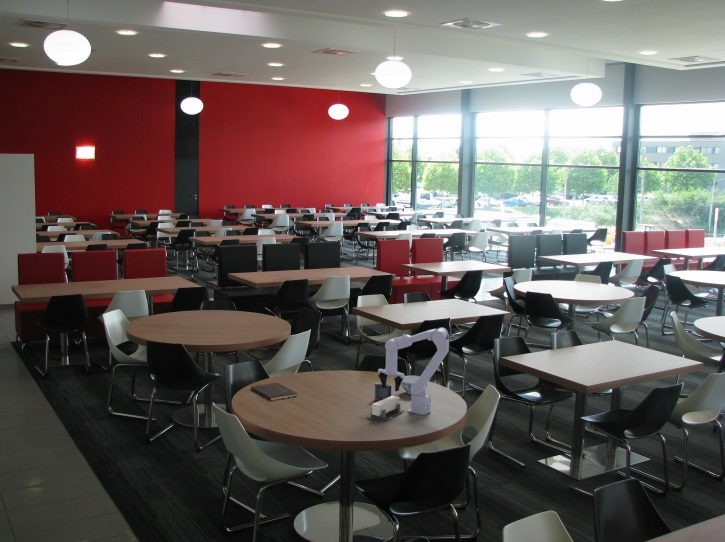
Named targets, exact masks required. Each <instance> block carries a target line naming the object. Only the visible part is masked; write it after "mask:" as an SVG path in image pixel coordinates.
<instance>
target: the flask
mask: <svg viewBox="0 0 725 542" xmlns="http://www.w3.org/2000/svg"><path fill="white" fill-rule="evenodd" d="M391 396H392V384H390V383H386V388H382V383H381V382H375V383H374V397H373V399H374V401H376V400H377V401H376V402H378V401H381V400H383V399H386V398H388V397H391Z"/></svg>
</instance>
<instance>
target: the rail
mask: <svg viewBox="0 0 725 542" xmlns="http://www.w3.org/2000/svg"><path fill="white" fill-rule="evenodd" d="M400 399H401V398H400V396H396V395H391V397H388V398H386V399H383V400H381V401H376V402H374V403H372V404H371V407H372V414H373V415H377V416H380V415H382V410H384V409H385V410H386V413H387V412H389V411H391V410H393V409H396V408H397V404H398V403H400V401H401V400H400Z"/></svg>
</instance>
